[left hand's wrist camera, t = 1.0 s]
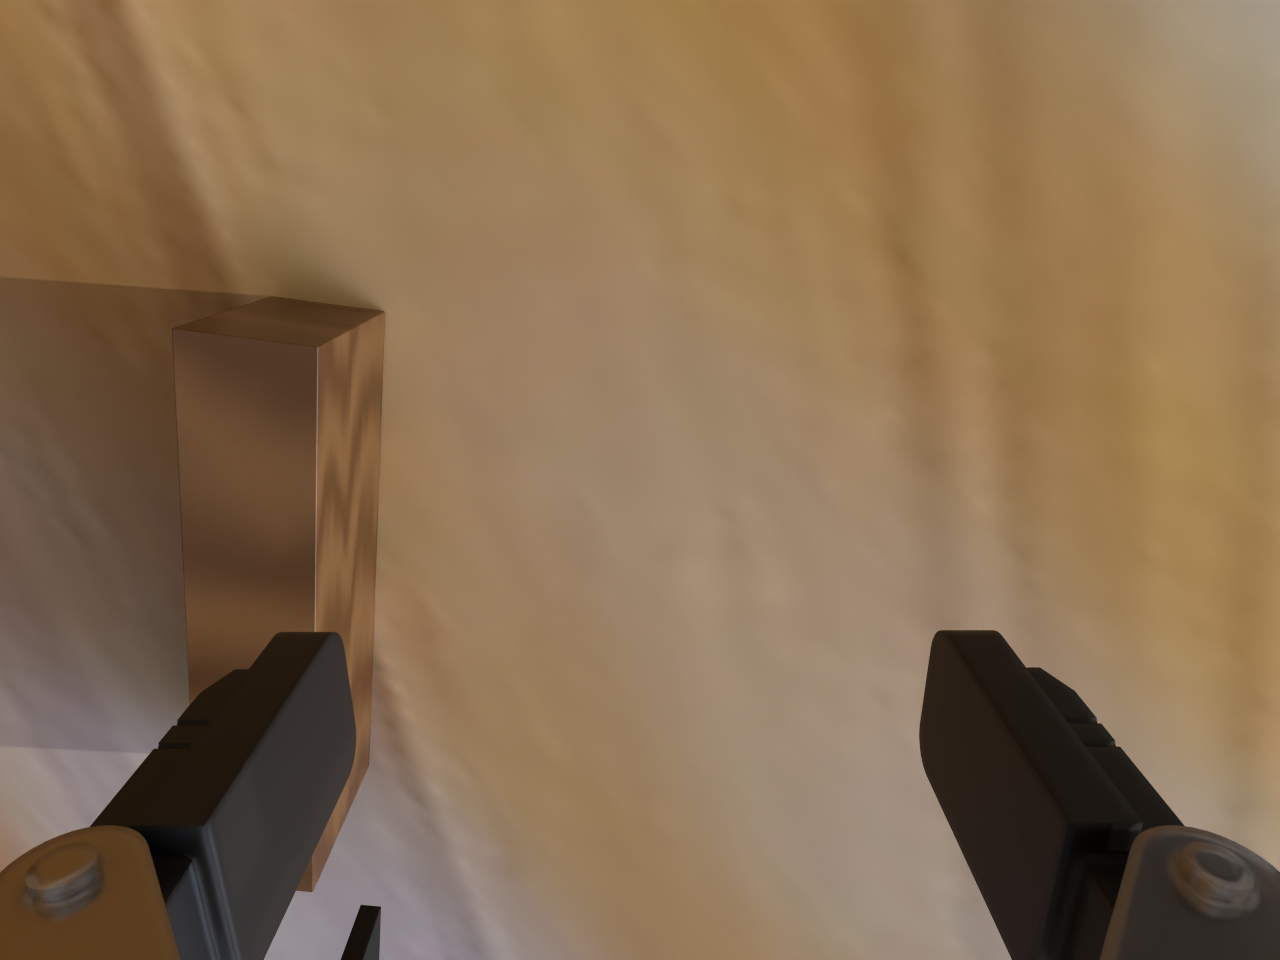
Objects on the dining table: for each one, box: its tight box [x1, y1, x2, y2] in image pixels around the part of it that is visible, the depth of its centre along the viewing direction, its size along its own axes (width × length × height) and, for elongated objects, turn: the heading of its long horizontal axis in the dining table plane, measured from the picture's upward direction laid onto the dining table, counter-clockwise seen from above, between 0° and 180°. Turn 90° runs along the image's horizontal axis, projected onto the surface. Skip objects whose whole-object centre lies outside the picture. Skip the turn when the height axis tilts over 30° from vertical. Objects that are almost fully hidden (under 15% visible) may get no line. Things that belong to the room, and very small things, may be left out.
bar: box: [172, 297, 385, 892], centre depth 38 cm, size 25×5×9 cm, turn 172°
